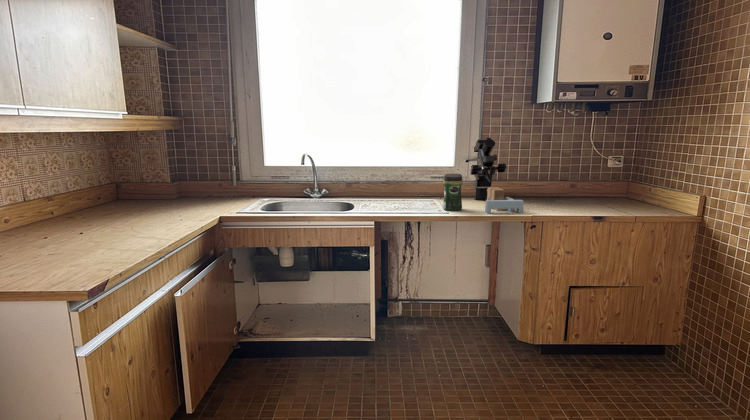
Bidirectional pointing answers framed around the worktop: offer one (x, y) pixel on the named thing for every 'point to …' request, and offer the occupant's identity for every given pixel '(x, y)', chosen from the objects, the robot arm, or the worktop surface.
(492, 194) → the tan stepped block
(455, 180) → the coffee jar
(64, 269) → the worktop surface
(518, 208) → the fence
